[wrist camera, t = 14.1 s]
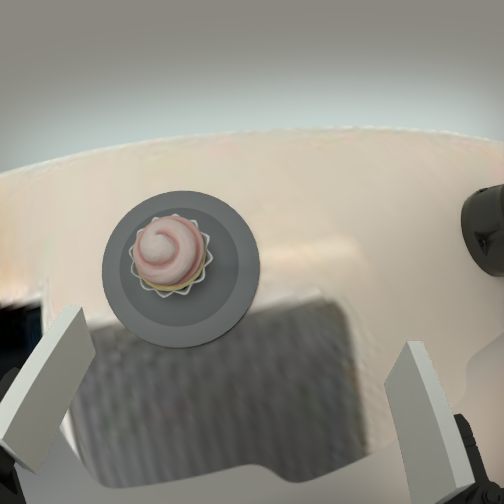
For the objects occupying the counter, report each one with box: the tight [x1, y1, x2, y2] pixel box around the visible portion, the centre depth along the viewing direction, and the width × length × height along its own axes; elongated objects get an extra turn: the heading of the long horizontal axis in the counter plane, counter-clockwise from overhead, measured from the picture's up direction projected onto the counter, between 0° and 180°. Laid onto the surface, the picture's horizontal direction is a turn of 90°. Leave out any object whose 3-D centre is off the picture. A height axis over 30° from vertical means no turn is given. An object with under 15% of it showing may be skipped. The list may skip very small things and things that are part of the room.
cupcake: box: [129, 214, 213, 298], centre depth 34 cm, size 9×9×10 cm
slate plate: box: [102, 191, 260, 348], centre depth 39 cm, size 20×20×1 cm
